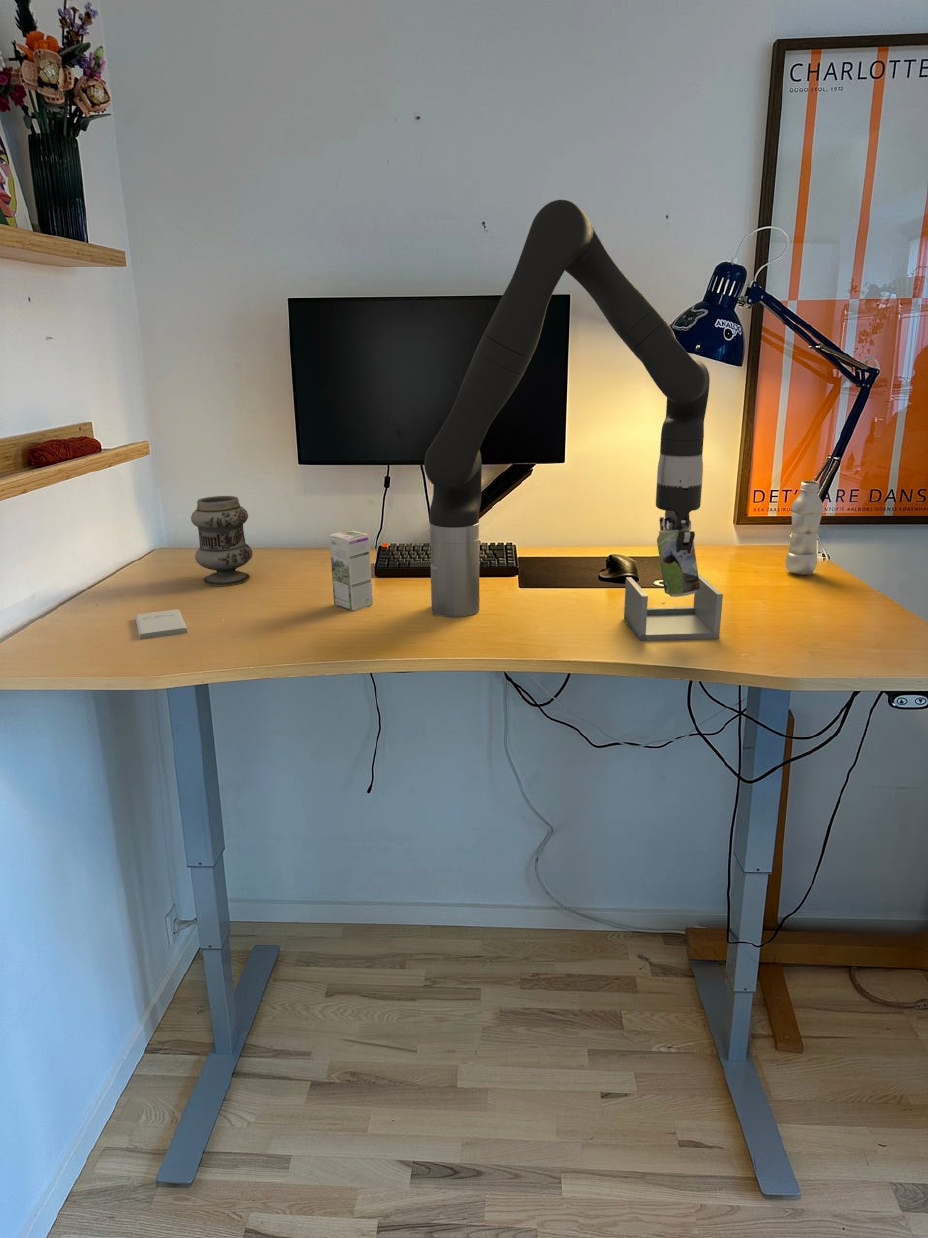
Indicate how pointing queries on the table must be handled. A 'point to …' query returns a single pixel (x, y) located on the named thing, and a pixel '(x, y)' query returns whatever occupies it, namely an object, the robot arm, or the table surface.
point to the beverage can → (677, 566)
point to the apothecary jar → (222, 539)
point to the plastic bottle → (805, 530)
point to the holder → (674, 615)
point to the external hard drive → (160, 623)
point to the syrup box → (351, 569)
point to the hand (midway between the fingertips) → (673, 578)
